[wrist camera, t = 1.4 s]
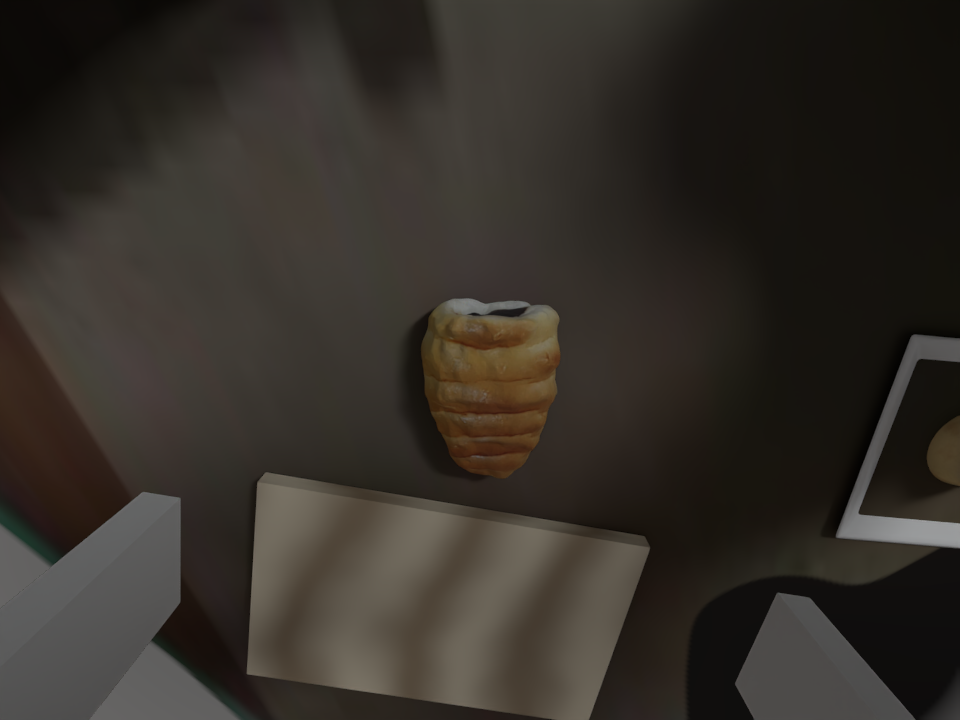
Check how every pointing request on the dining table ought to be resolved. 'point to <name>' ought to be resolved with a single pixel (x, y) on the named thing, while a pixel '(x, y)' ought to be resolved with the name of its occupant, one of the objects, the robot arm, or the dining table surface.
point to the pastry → (490, 380)
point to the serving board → (435, 599)
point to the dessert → (950, 459)
